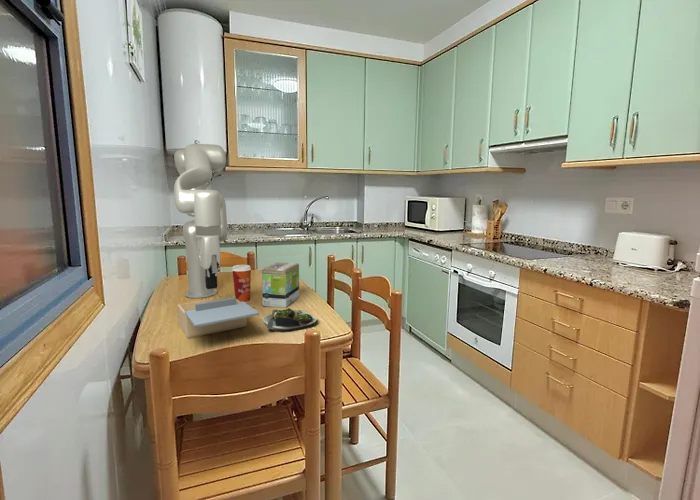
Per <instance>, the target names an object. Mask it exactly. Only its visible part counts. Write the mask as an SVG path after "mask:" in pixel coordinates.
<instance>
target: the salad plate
mask: <svg viewBox="0 0 700 500" xmlns="http://www.w3.org/2000/svg"><path fill="white" fill-rule="evenodd" d="M262 321H263V323H264V324H265V325H266V328H267V329H269V330H271V331H273V332H277V333H292V332H296V331H302V330H306V329H309V328H312V327H315V325H316V324H317V323H318V318H317V317H316V316H314V315H312V314H310V313H309V312H308V311H306V310H299V309H292V308H289V307H287V308H285V309H282V308H279V309H273V310H272V313H271V314H268V315H265V316H264V317H263V318H262Z"/></svg>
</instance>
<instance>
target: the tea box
mask: <svg viewBox="0 0 700 500" xmlns="http://www.w3.org/2000/svg"><path fill="white" fill-rule="evenodd" d="M261 273H262V277H261V278H262V280H261V281H262V283H261V285H262V288H261V289H262V292H261V293H262V306H263V307H271V308H285V309H287V308H288V306H290V304H291V303H293V302H294V301H296V300H298V299H299V298H298V297H300V264H299V263H294V262H293V263H292V262H276V263H275V262H274V264H271V265H269V266H266V267H264V268H262V269H261Z"/></svg>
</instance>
